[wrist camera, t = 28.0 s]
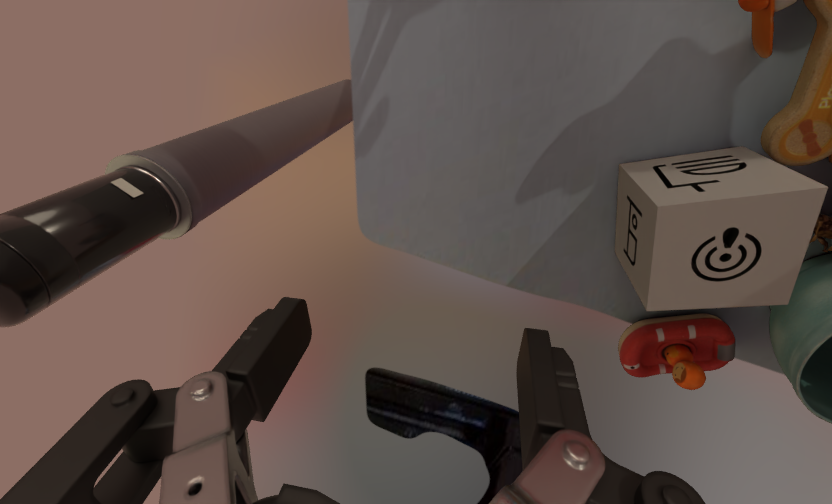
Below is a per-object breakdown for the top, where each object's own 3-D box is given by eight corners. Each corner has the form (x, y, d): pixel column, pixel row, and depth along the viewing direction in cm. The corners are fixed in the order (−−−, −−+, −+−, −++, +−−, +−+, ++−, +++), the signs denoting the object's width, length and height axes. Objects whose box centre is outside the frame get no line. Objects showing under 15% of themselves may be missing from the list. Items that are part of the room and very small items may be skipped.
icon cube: (619, 164, 35) (657, 206, 27) (742, 146, 33) (828, 187, 24) (614, 252, 40) (646, 311, 32) (722, 242, 37) (787, 304, 29)
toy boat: (610, 318, 45) (626, 366, 39) (724, 303, 41) (763, 355, 35) (617, 360, 48) (633, 411, 42) (723, 351, 44) (759, 406, 38)
